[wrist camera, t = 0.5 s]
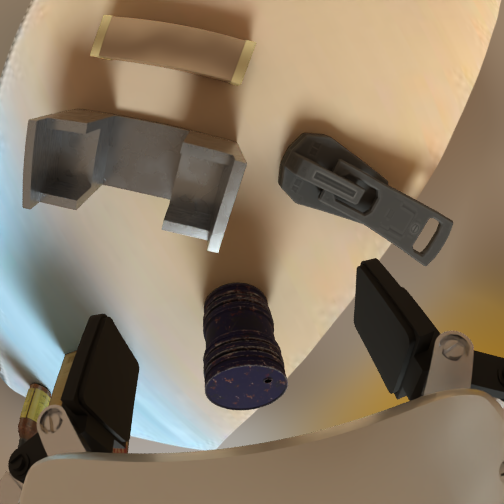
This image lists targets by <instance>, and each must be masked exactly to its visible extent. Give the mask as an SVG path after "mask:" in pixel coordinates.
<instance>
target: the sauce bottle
mask: <svg viewBox="0 0 504 504" xmlns="http://www.w3.org/2000/svg"><path fill="white" fill-rule="evenodd" d="M50 399H51V393H50V392H49V391H48V390H47V389H46V388H45V387H43V386H41V385H39V384H35V383H34V384H31V385H30V389H29V390H28V393H27V396H26V399H25V402H24V406H23V409H22V412H21V416H20V422H19V425H18V429H19V430H18V432H19V436H20V440H19V445H18V448H19V447H20V446H21V445H22V444H24V443H25V442H26V441H27V440H29V439H30V438H31V437H32V436H34V435H35V434H36V433H37V432H38V430H37V419H38V417H39V415H40V413H41V412H42V411H43V410H44V409H45V408H46V407H48V406H49V402H50Z"/></svg>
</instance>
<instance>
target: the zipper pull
mask: <svg viewBox="0 0 504 504" xmlns="http://www.w3.org/2000/svg"><path fill="white" fill-rule="evenodd" d="M278 183H279V185H280V186H281V188H282V189H283V190H284V191H285V192H286V193H287V194H288V195H289V196H290V198H291V199H292V200H293V201H294V202H295V203H297V204H300V205H304V206H307V207H311V208H314V209H318V210H321V211H324V212H328V213H331V214H334V215H337V216H340V217H343V218H346V219H350V220H353V221H356V222H359V223H362V224H364V225H366V226H367V227H369V228H370V229H372V230H373V231H375V232H376V233H378V234H379V235H381V236H382V237H384V238H385V239H387V240H388V241H390V242H391V243H393V244H394V245H396V246H397V247H398V248H400V249H401V250H403V251H404V252H406V253H407V254H408V255H410V256H411V257H412V258H414V259H415V260H417V261H418V262H419V263H421V264H422V265H424V266H427V265H428V264H429V263H430V262H431V261H432V260H433V259H434V258H435V257H436V255H437V254H438V253H439V251H440V250H441V248H442V247H443V245H444V243H445V242H446V240H447V238H448V236H449V233H450V231H451V228H452V225H453V221H452V220H450V219H449V218H447V217H445V216H444V215H442V214H440V213H439V212H437V211H435V210H433V209H431V208H429V207H428V206H426V205H424V204H422V203H420V202H419V201H417V200H415V199H413V198H411V197H410V196H408V195H406V194H404V193H402V192H400V191H398V190H396V189H394V188H392V187H390V186H388V181H387V180H386V179H385V178H383V177H382V176H381V175H380V174H378V173H377V172H376V171H375V170H373V169H372V168H371V167H370V166H368V165H367V164H366V163H364V162H363V161H362V160H360V159H359V158H358V157H356V156H355V155H354V154H352V153H351V152H350V151H348V150H347V149H346V148H344V147H343V146H342V145H340V144H339V143H338V142H336V141H335V140H334V139H332V138H331V137H329V136H326V135H324V134H312V133H303V134H301V135H300V136H299V137H298V138H297V139H296V140H295V141H294V142H293V143H292V144H291V145H290V146H289V147H288V149H287V151H286V153H285V155H284V157H283V159H282V161H281V164H280V172H279V180H278ZM429 218H435V219H436V220H437V221H439V225H438V227H437V230H436V232H435V234H434V235H433V237H432V238H431V240H430V242H429V243H428V245H427V246H426V248H425V249H424V250H423V251H422V252H420V253H419V252H418V251H416V250H414V249H413V244H414V243H415V241H416V239H417V238H418V236H419V234H420V233H421V231H422V229H423V228H424V226H425V224H426V223H427V221H428V220H429Z"/></svg>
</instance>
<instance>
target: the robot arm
mask: <svg viewBox="0 0 504 504" xmlns="http://www.w3.org/2000/svg"><path fill="white" fill-rule="evenodd" d="M354 324H355V327H356V329H357V331H358V333H359V335H360V337H361V339H362V341H363V342H364V344H365V346H366V348H367V350H368V352H369V354H370V356H371V358H372V360H373V361H374V363H375V365H376V367H377V369H378V371H379V373H380V375H381V377H382V379H383V381H384V383H385V385H386V387H387V389H388V391H389V392H390V393H391V394H392V393H394V394H395V396H396V398H397V399H400V398H402V397H405V396H407V397H408V399H409V400H410V401H409V402H406V403H403V404H400V405H398V406H395V407H392V408H389V409H387V410H384V411H381V412H378V413H375V414H372V415H369V416H366V417H363V418H360V419H357V420H354V421H350V422H347V423H344V424H341V425H337V426H334V427H330V428H327V429H323V430H320V431H315V432H311V433H308V434H303V435H299V436H295V437H291V438H285V439H281V440H276V441H270V442H265V443H259V444H253V445H247V446H241V447H234V448H226V449H217V450H207V451H195V452H181V453H158V454H157V453H154V454H132V453H131V454H130V453H113V448H119V449H126V442H128V441H129V439H130V432H131V423H132V415H133V408H134V401H135V394H136V387H137V380H138V374H139V364H138V362H137V360H136V358H135V357H134V355H133V354H132V352H131V351H130V349H129V347H128V346H127V344H126V342H125V341H124V339H123V338H122V336H121V334H120V332H119V331H118V329H117V327H116V326H115V324H114V322H113V320H112V319H111V318H110V317H107V315H105V314H99V315H93V316H91V317H90V318H89V321H88V323H87V326H86V328H85V331H84V333H83V336H82V338H81V341H80V344H79V346H78V349H77V352H76V354H75V357H74V360H73V363H72V366H71V368H70V371H69V374H68V377H67V380H66V383H65V387H64V390H63V393H62V396H61V399H60V400H61V401H62V405H61V406H59V405H50V406H48V407H46V408H45V409H44V410H43V411H42V412H41V413H40V415H39V417H38V419H37V430H38V432H37V433H36V434H35V435H34V436H32V437H31V438H30V439H29V440H27V441H26V442H25V443H24V444H22V445H21V446H20V447H19V448H18V449H16V450H15V451H14V452H13V453H12V455H11V457H10V459H9V471H10V473H8V472H5V474H4V475H3V477H2V478H1V480H0V504H504V358H501V357H497V356H493V355H489V354H486V353H482V352H478V351H474V349H473V344H472V342H471V340H470V339H469V338H468V337H467V336H466V335H464V334H462V333H460V332H457V331H447V332H444V333H442V334H440V333H439V331H438V330H437V329H436V327H435V326H434V325H433V323H432V322H431V321H430V320H429V318H428V317H427V316H426V314H425V313H424V312H423V310H422V309H421V308H420V307H419V306H418V304H417V303H416V302H415V300H414V299H413V298H412V297H411V296H410V294H409V293H408V292H407V290H405V289H404V288H403V287H401V286H400V285H399V284H398V283H397V282H396V280H395V279H394V278H393V277H392V276H391V274H390V273H389V272H388V271H387V270H386V268H385V267H384V266H383V265H382V264H381V263H380V261H379V260H378V259H376V258H374V259H370V260H366V261H362V262H361V265H360V266H358V267H357V275H356V294H355V310H354Z"/></svg>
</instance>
